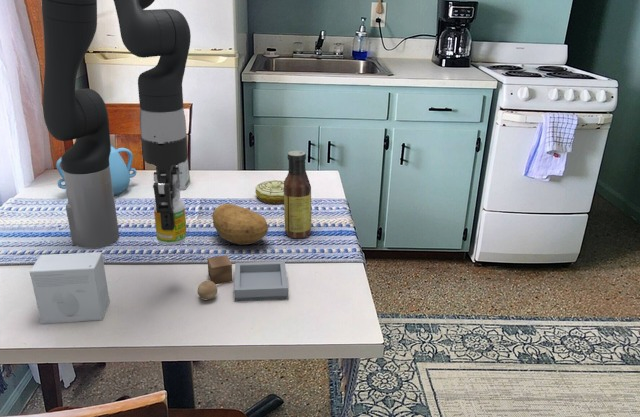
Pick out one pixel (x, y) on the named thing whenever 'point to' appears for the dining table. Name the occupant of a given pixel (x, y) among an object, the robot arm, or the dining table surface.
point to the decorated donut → (271, 191)
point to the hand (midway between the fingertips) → (170, 221)
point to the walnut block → (220, 269)
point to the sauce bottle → (297, 197)
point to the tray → (260, 281)
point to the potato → (239, 224)
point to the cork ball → (207, 290)
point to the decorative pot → (112, 170)
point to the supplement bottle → (179, 220)
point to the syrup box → (184, 175)
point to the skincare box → (70, 287)
